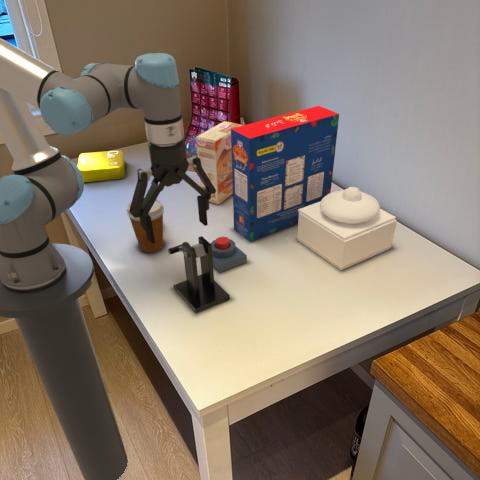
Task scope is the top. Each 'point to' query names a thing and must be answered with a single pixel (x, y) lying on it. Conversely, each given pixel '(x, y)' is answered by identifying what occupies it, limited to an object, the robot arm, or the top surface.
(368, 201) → the white domed box
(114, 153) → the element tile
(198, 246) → the lever
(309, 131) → the blue cereal box
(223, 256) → the button box
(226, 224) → the top surface
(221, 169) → the coffeecake box
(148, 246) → the disposable coffee cup
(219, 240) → the button
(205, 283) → the bracket
